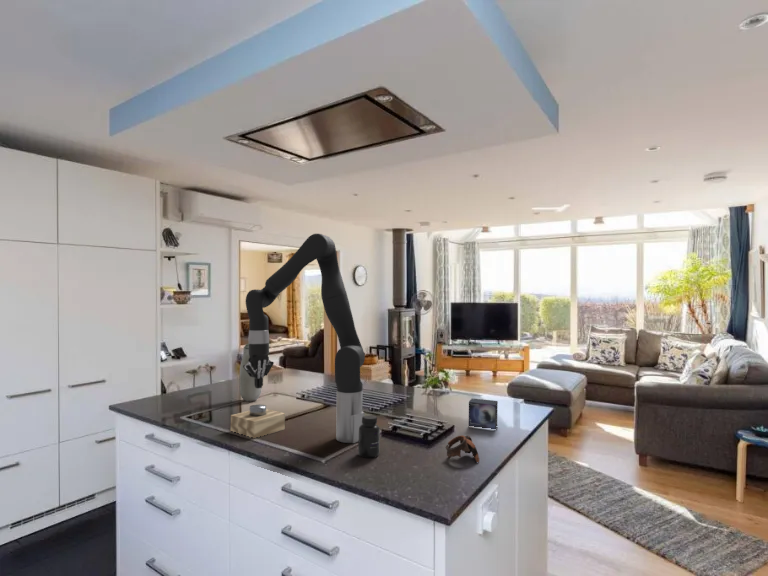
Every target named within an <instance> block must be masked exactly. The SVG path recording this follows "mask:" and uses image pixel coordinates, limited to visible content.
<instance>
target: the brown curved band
mask: <svg viewBox="0 0 768 576" xmlns="http://www.w3.org/2000/svg"><path fill="white" fill-rule="evenodd" d="M457 443H460V444H459V445H457V446H454V447H453V445H455V444H457ZM445 450H446V456H447V457H448V459H450V458H453V457H460V458H462V456H461V455H462V454H461V453H462V452H464V453H465V454H470V453H471V454H472V457H473V456H474V457H473V458H474V460H475V463H476V462H480V456H479V451H478V449H477V447H476V444H475V443H474V442H473V440H472V438H471V436H469V435H457V436H455V437H453V438H452V439H450V440H449V441H448V442H447V445H446V446H445ZM461 451H462V452H461Z"/></svg>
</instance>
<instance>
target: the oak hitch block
mask: <svg viewBox="0 0 768 576" xmlns="http://www.w3.org/2000/svg"><path fill="white" fill-rule="evenodd" d="M285 425H286V413H284V412H281V411H276V410H271V409H268V408H266V415H264V416H258V417H254V416H250V410H247V411H246V410H245V411H242V412H238V413H235V414H230V432H231V431H233V432H232V433H234V432H236V433H235V434H237V433H239V434H238V435H241V434H243V435H242V436H244V435H246V436H245V437H247V436H249V437H248V438H251V437H253V438H252V439H254V438H255V439H257V438H256V437H258V438H261V437H264V435H265V436H268V435H271V434H274V433H277V432H281V431H284V430H285V429H286V427H285ZM267 434H268V435H267ZM260 436H261V437H260Z"/></svg>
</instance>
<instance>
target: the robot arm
mask: <svg viewBox="0 0 768 576" xmlns="http://www.w3.org/2000/svg"><path fill="white" fill-rule="evenodd" d="M315 260H316V262H317V264H318V267H319V270H320V275H321V288H320V289H321V290H320V291H321V292H320V294H321V301H322V304H323V308H324V312H325V314H326V316H327V319H328V321H329V322H330V324H331V326H332V328H333V329H334V331H335V333H336V336H337V338H338V342H339V349H338V350H337V351H336V353H335V356H334V357H335V358H334V382H335V386H336V414H335V415H336V417H335V419H336V420H335V421H336V422H335V423H336V425H335V427H336V429H335V431H336V432H335V433H336V434H335V435H336V436H335V439H336V440H337V442H339V443H340V442H341V443H347V444H355V443H358V440H359V427H360V426H361V425H362V424H363V423H362V417H363V416H366V415H365V411H363V387H364V386H363V382H362V380H361V368H362V367H363V365H364V363H365V360H366V357H365V351H364V347H363V346H362V343H361V341H360V338H359V335H358V333H357V329H356V326H355V320H354V317H353V314H352V310H351V305H350V301H349V298H348V294H347V290H346V287H345V283H344V281H343V277H342V275H341V270H340V266H339V262H338V255H337V248H336V245H335V242H334V240H333V239H332V238H331V237H330V236H327V235H326V234H322V233H313V234H311V235H310V236H308V237H307V238H306V239H305V241H303V243H302V244H301V245H300V247H299V248H298V249H297V250H296V252H295V253H294V254H293V255H292V256H291V257H290V258H289V259H288V260H287V261H286V262H285V263H284V264H283V265H282V266H281V267H280V268H278V270H276V271H275V272H274V273H273V274H272V275H271V276H270V277H268V278H267V279H266V281H265V284H264V287H263V288H261V289H250V290H249V291H248V292H247V294H246V296H245V307H246V313H247V316H248V319H249V322H248V323H249V324H248V326H249V329H248V343H249V356H250V357H249V360H248V363H247V364H246V365H243V368H244V369H245V370H246V372H247V373H248V374H249V376H250V377H253V378H254V386H255V387H256V388H263V385H264V377H265V376H268V374H269V373H270V371H271V369H272V368H273V365H274V363H275V362H274V361H271V360H270V357H269V353H270V334H269V317H268V316H267V315H266V314H265V313H264V309H265V308H267V307H269V306H271V305H272V304H273V303H274V301H275V300H277V297H279V295H280V294H281V293H282V292H283V291H285V289H287V288H288V287H289V286H291V284H292V283H293V282H294V281H296V279H297V277H298V275H299V274H300V272H302V270H303V269H304V268H305V267H306V266H308V265H309V264H310V263H312V262H314V261H315ZM251 366H252V367H251Z"/></svg>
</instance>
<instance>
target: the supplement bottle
mask: <svg viewBox="0 0 768 576" xmlns="http://www.w3.org/2000/svg"><path fill="white" fill-rule="evenodd" d="M362 423H363V424H362V425H361V426H360V427H359V440H358V442H357V443H358V445H357V447H358V448H357V450H358V451H357V452H358V455H359V456H360V457H362V458H363V459H364V458H366V459H372V458H377V457H378V456H379V454H380V439H381V437H380V434H381V429H380V426H379V425H378V416H376V415H371V414H369V415H365V416H363V417H362Z"/></svg>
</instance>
